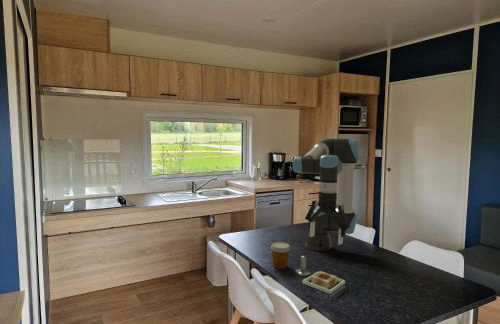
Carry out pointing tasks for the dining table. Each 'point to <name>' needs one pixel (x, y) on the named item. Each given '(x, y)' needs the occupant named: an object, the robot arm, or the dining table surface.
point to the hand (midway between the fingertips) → (325, 240)
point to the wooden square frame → (324, 279)
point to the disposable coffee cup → (280, 254)
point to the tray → (323, 287)
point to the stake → (303, 267)
